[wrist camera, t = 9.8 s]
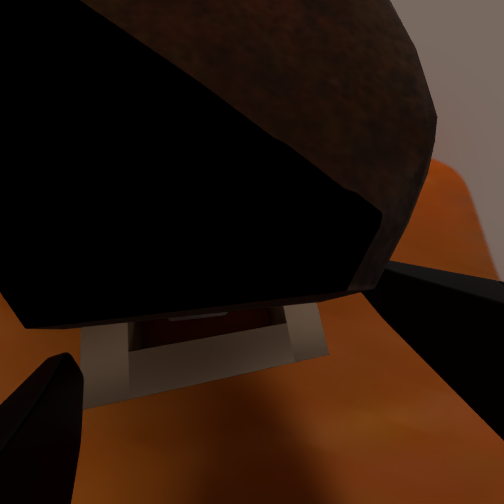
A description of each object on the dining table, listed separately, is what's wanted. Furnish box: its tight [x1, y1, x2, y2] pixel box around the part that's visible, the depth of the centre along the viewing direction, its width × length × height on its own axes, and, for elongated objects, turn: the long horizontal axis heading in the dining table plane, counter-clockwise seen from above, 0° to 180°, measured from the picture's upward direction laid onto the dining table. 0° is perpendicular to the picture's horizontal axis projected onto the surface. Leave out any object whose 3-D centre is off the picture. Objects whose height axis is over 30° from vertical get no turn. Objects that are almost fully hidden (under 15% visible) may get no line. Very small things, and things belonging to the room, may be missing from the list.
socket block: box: [80, 303, 329, 410], centre depth 15 cm, size 12×12×3 cm
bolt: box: [0, 0, 437, 329], centre depth 9 cm, size 6×5×15 cm
